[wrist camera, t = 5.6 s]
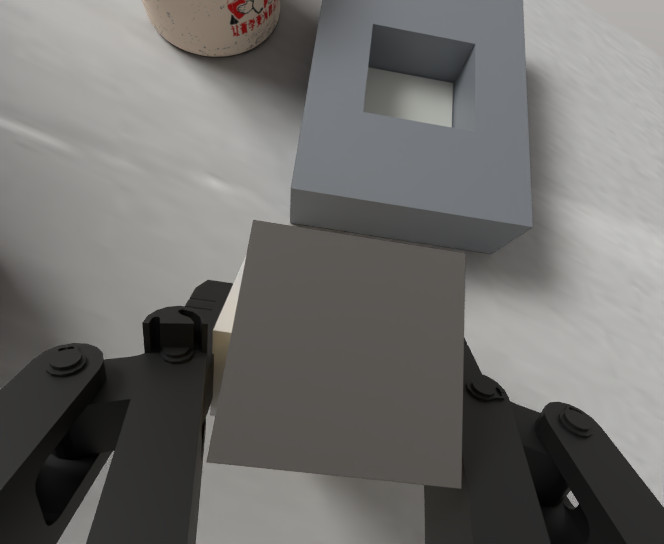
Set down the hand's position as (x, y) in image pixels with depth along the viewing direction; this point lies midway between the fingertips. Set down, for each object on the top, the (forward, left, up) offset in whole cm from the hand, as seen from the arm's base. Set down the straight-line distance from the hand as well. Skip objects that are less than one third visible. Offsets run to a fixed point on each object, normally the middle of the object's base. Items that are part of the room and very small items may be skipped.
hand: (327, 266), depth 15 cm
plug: (0, -4, -3) cm, 5 cm away
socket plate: (+4, +12, -6) cm, 14 cm away
